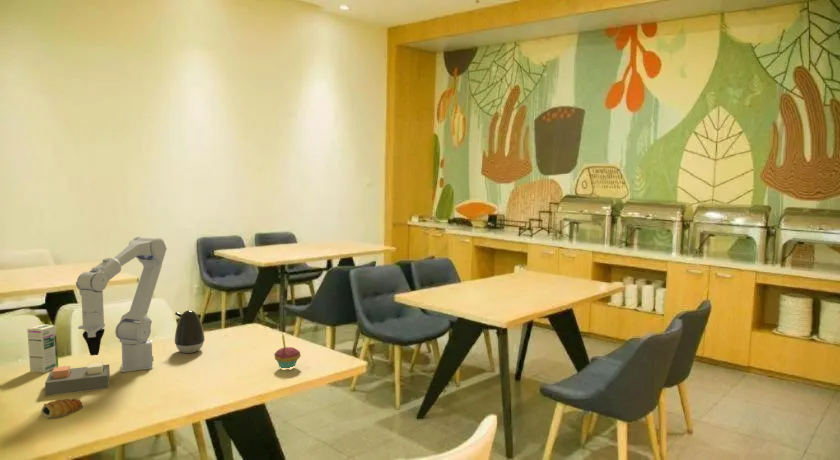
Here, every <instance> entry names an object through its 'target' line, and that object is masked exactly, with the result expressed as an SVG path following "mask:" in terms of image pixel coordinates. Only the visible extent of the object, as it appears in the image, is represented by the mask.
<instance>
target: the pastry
mask: <svg viewBox="0 0 840 460" xmlns="http://www.w3.org/2000/svg"><path fill="white" fill-rule="evenodd" d="M83 407H84V406H83V402H82V401H81V400H79V399H78V398H77V399H76V398H73V399H69V398H65V399H64V398H63V399H56V400H53V401H49V402H48V403H44V404H43V406H42V408H41V414H42V416H43V417H45V418H48V419H50V420H51V419H58V418H59V419H60V418H62V417H63V416H64V417H66V416H69V415H71V414H74V413H76V412H78V411H79V410H81V409H82V408H83Z"/></svg>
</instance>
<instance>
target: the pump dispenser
mask: <svg viewBox="0 0 840 460" xmlns="http://www.w3.org/2000/svg"><path fill="white" fill-rule="evenodd" d="M174 315H175V316H177V317H179V319H178V321H177V325H176V328H175V335H174V344H175V347H176V349H177V350H178V351H179V352H180V353H183V354H193V352H194V353H196V351H197V352H198V351H200V350H201V349H202V347H203V345H204V342H205V332H204V328H203V325H202V321H201V319H200V318H199V316H198V314H197V312H195V311H194V310H189V309H188V310H185V311H183V313H181V312H178V311H175V313H174Z"/></svg>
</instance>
